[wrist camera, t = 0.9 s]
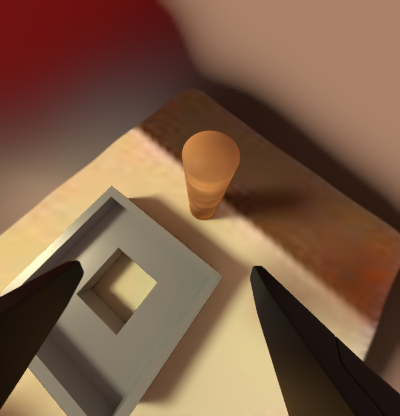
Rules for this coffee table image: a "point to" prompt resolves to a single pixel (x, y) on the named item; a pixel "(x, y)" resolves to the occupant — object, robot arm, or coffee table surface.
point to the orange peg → (208, 170)
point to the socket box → (106, 318)
